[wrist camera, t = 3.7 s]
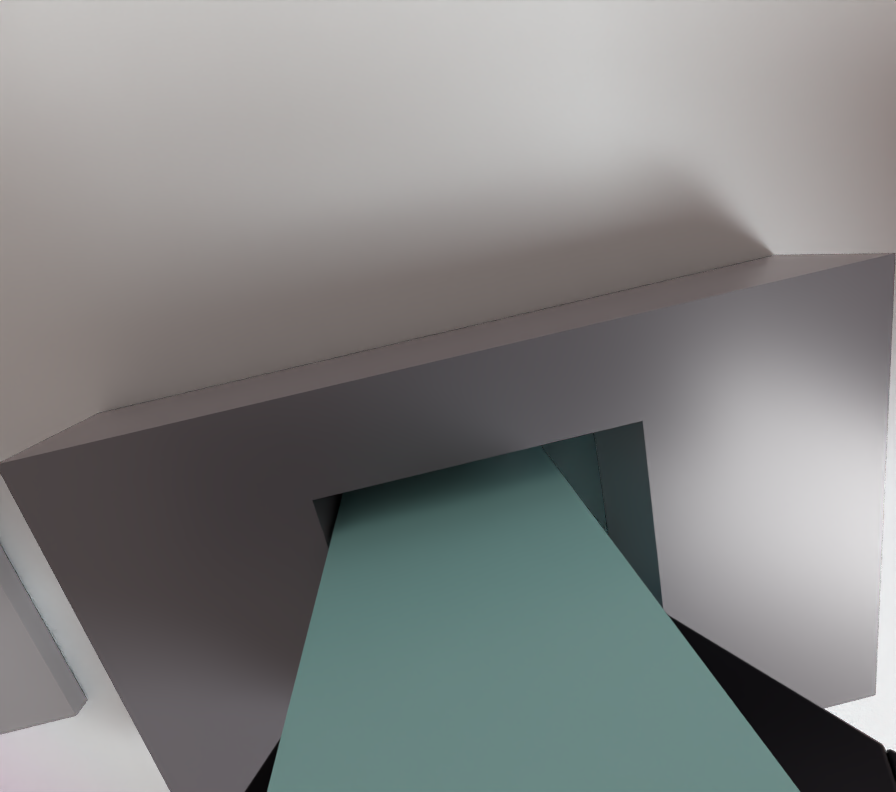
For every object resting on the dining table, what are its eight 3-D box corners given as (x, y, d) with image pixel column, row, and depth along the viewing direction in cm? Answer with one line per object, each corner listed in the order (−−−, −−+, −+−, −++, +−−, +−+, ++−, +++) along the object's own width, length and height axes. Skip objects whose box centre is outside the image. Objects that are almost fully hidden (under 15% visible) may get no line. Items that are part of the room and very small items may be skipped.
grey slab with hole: (784, 611, 12) (875, 695, 10) (248, 746, 12) (210, 866, 10) (776, 254, 10) (894, 253, 8) (97, 413, 10) (-4, 464, 7)
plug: (557, 582, 12) (861, 1212, 4) (394, 623, 11) (380, 1353, 4) (528, 429, 10) (875, 892, 3) (347, 474, 10) (194, 1081, 3)
